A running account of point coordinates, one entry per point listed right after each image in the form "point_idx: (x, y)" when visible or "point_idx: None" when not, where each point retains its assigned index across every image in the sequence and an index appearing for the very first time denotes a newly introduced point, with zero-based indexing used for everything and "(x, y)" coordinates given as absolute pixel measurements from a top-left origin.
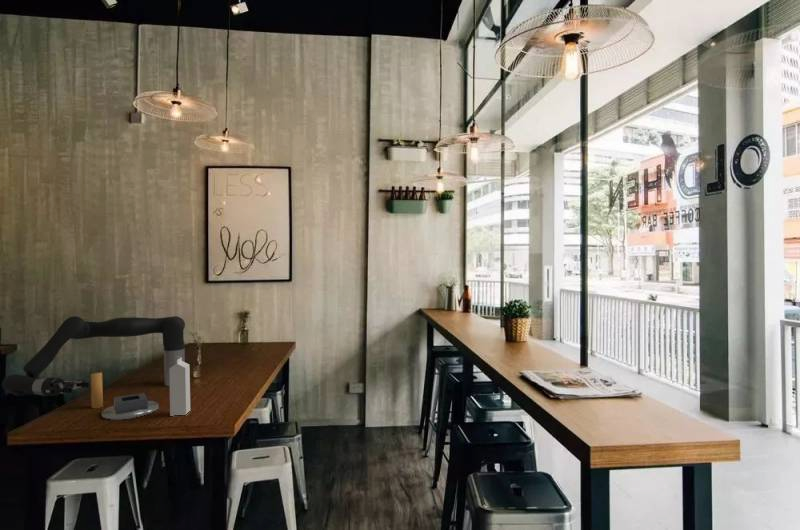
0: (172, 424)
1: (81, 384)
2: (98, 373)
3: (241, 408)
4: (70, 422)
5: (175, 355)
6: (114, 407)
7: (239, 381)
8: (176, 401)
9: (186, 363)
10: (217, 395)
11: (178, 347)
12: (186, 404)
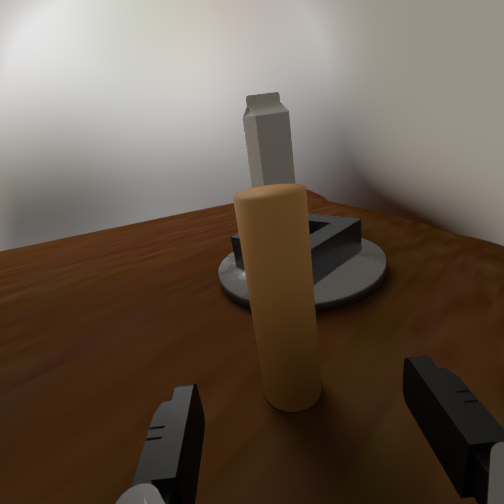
0: (331, 207)
1: (184, 491)
2: (260, 190)
3: (229, 205)
4: (498, 313)
5: None
6: (326, 270)
7: (8, 264)
8: None
9: (246, 113)
10: (142, 241)
11: None
12: None
